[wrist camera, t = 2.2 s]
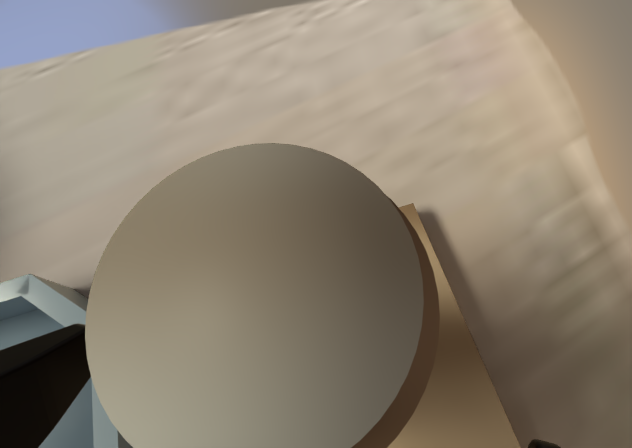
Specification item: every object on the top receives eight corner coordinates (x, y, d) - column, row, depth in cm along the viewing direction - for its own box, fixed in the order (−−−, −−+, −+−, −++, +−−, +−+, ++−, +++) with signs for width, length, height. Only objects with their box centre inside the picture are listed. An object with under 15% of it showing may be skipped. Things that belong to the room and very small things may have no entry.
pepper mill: (409, 405, 15) (533, 445, 4) (291, 442, 15) (60, 591, 4) (369, 290, 16) (371, 85, 6) (265, 322, 16) (60, 183, 6)
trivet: (523, 472, 14) (533, 477, 13) (234, 562, 14) (224, 573, 13) (410, 212, 19) (413, 203, 18) (191, 280, 19) (182, 274, 18)
